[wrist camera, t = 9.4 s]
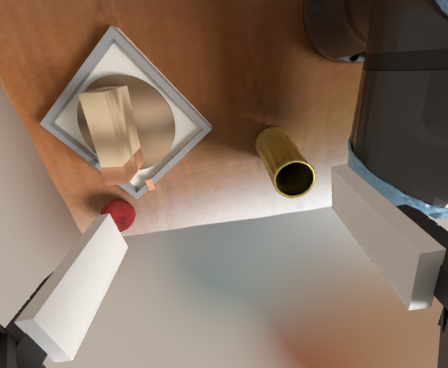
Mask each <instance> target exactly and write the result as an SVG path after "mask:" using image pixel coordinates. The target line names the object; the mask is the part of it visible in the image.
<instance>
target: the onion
mask: <svg viewBox="0 0 448 368" xmlns="http://www.w3.org/2000/svg"><path fill="white" fill-rule="evenodd" d="M108 213H110V215H111V217H112V219H113V221H114V222H115V224H116V226H117V228H118V230H119V232H121V231H124V230H126V229H128V228H129V227H130V226H131V225H132V224H133V222H134V218H135V215H136V214H135V210H134V207H133V206H132V205H131V204H130V203H128V202H126V201H123V200H113V201H111V202H109V203H107V204H106V205H105V206H104V207H103V209H102V211H101V215H103V214H108Z"/></svg>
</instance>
